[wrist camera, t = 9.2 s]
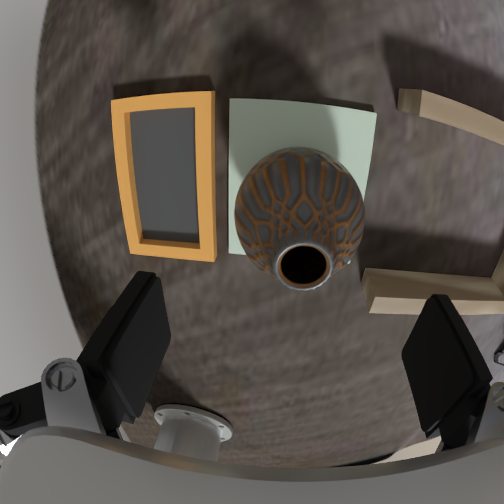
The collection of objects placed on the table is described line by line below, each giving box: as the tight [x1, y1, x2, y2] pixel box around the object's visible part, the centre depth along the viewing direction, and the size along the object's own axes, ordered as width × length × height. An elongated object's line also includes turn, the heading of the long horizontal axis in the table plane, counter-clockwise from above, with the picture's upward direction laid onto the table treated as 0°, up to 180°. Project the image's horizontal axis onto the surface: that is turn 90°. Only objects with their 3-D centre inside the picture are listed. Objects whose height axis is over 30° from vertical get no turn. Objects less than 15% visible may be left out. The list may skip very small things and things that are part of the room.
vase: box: [234, 147, 365, 291], centre depth 15 cm, size 7×7×9 cm
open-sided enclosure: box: [361, 88, 504, 315], centre depth 16 cm, size 15×16×4 cm
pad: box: [229, 98, 377, 264], centre depth 18 cm, size 11×9×1 cm
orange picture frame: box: [111, 91, 217, 262], centre depth 19 cm, size 12×7×1 cm, turn 178°
